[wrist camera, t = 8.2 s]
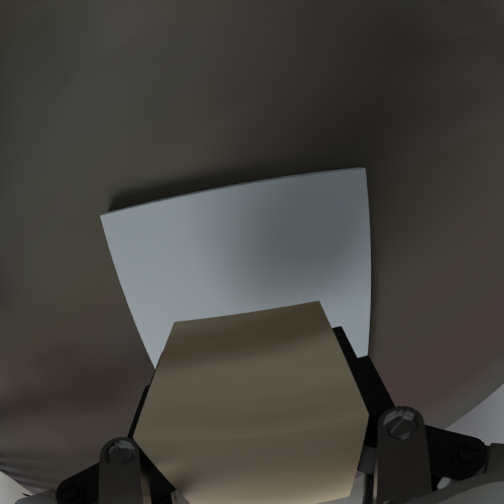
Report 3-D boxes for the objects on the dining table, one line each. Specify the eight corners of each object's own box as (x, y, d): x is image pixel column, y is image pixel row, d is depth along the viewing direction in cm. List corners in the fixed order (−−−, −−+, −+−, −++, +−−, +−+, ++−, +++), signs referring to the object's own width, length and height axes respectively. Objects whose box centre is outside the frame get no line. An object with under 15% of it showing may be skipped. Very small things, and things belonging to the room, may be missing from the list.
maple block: (174, 321, 10) (132, 437, 5) (319, 300, 10) (368, 414, 5) (209, 413, 11) (198, 511, 7) (323, 398, 11) (349, 496, 6)
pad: (107, 212, 13) (100, 215, 12) (358, 167, 12) (365, 168, 12) (174, 395, 17) (172, 404, 16) (361, 368, 16) (365, 376, 16)
